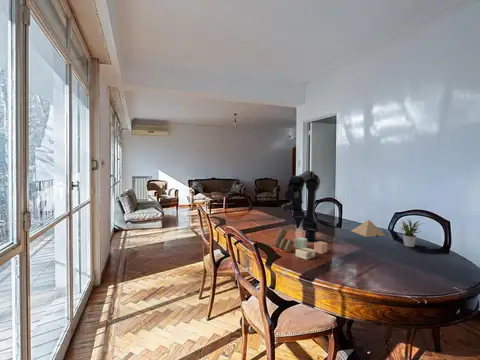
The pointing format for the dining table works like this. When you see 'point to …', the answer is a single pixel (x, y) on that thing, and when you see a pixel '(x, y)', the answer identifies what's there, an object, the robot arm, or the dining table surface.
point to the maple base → (305, 253)
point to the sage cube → (301, 242)
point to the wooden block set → (283, 241)
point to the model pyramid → (368, 229)
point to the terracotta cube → (320, 247)
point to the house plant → (410, 233)
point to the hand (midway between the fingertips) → (296, 226)
